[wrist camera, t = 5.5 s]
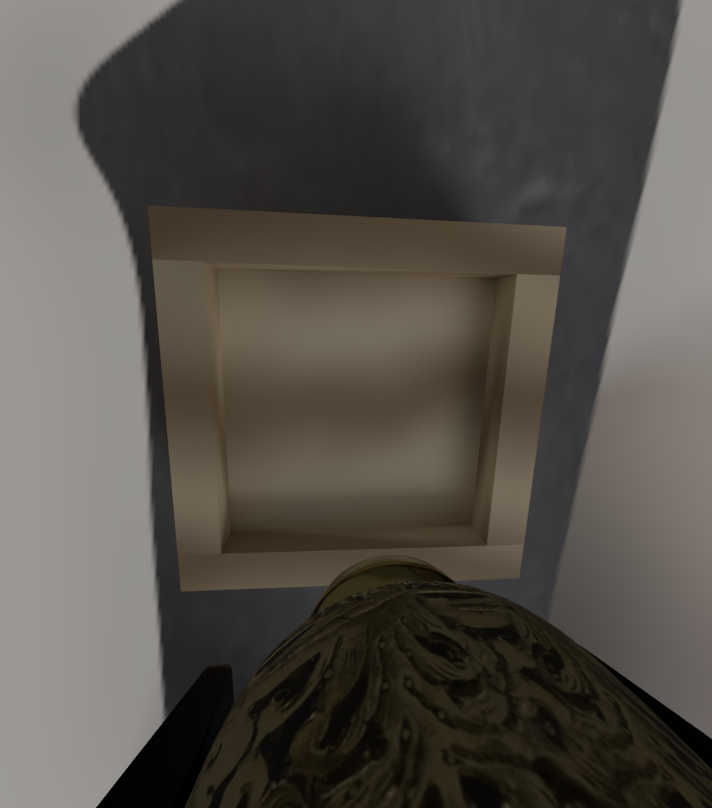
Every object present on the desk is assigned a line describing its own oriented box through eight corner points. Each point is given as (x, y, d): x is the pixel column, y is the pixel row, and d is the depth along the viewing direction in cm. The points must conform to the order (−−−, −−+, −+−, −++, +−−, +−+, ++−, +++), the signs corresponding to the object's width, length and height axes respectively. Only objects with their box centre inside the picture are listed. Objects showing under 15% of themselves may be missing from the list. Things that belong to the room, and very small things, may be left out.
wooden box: (463, 505, 21) (519, 578, 15) (223, 510, 19) (180, 591, 14) (486, 258, 18) (566, 227, 12) (208, 246, 17) (147, 205, 11)
